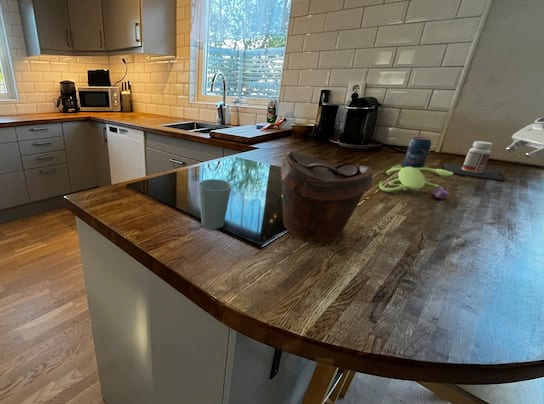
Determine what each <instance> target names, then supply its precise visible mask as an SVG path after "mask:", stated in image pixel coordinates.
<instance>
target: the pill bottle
mask: <svg viewBox="0 0 544 404" xmlns="http://www.w3.org/2000/svg"><path fill="white" fill-rule="evenodd" d="M492 146H493V142H491V141H490V142H489V141H483V140H474V142H473V144H472V147H471V148H469V150H468V152H467V154H466V157H465V160H464V162H463V165H462V166H463V167H462V169H463V170H464V171H467V172H472V173H482V172H483V170H484V169H486V165H487V163H488V161H489V158H490V156H491V154H492V150H490V149H492V148H493V147H492Z"/></svg>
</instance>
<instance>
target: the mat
mask: <svg viewBox="0 0 544 404" xmlns="http://www.w3.org/2000/svg"><path fill="white" fill-rule="evenodd" d="M443 167H444V170H446V171H449V172H453V173H454V174H453V175H457V176H462V177H463V176H464V177H472V178H476V179H477V178H478V179H485V180H492V181H499V182H504V181H505V179H504V178H503V177H502V176H501V175H500V174H499V173H498V171H497V170H493V169H486V168H484V170H483V172H482V173H472V172H467V171H464V170H463V169H462V167H463V165H456V164H451V163H443Z"/></svg>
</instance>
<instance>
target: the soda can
mask: <svg viewBox="0 0 544 404" xmlns="http://www.w3.org/2000/svg"><path fill="white" fill-rule="evenodd" d="M431 146H432V138H429V137H423V136H413V137H412V139H411V140H410V141H409V144H408V147H407V150H406V153H405V156H404V159H403V162H402V164H403V168H405V167H413V168H424V167H425V164H426V161H427V158H428V155H429V153H430V149H431Z"/></svg>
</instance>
